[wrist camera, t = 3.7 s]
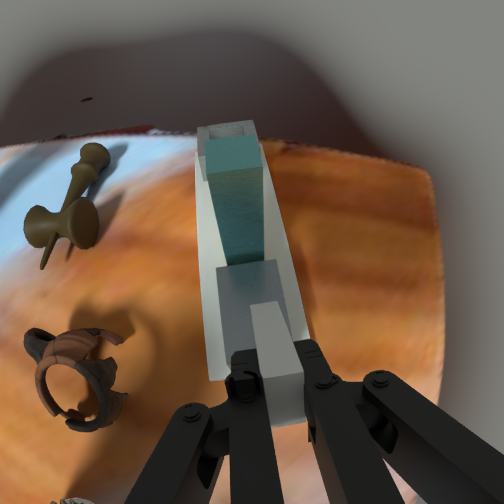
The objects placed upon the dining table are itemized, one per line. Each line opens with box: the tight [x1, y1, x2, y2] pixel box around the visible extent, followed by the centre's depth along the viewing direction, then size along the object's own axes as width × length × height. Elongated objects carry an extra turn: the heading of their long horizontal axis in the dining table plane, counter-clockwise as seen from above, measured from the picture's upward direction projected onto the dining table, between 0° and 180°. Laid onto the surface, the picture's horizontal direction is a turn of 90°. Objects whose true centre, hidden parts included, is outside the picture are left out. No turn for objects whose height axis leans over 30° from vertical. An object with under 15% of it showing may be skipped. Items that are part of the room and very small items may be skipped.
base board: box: [195, 143, 310, 382], centre depth 31 cm, size 28×9×1 cm, turn 8°
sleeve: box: [216, 259, 293, 370], centre depth 24 cm, size 8×5×4 cm, turn 8°
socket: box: [197, 120, 261, 181], centre depth 35 cm, size 6×7×4 cm
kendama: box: [24, 143, 111, 270], centre depth 32 cm, size 6×10×20 cm
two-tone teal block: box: [205, 134, 264, 266], centre depth 21 cm, size 14×3×13 cm, turn 8°
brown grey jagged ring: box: [24, 328, 129, 432], centre depth 22 cm, size 12×10×8 cm
